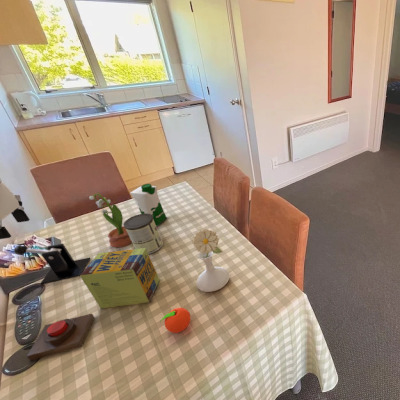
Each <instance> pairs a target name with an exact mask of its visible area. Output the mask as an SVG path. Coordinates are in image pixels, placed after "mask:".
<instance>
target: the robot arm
mask: <svg viewBox="0 0 400 400" xmlns="http://www.w3.org/2000/svg"><path fill="white" fill-rule="evenodd" d="M10 214H11V215H12V217H13V218H14V220H15V221H16V222H17V223H24V222H29V221H30V218H29V217H28V215H27V213H26V212H25V208H24V206H23V201H22V199H21V195H20V194H14V193H13V192H12V191H11V189H10V188H9V187H8V186H7V185H6V184H5V182H3V180H2V179H1V178H0V240H4V239H10V238H12V235H11V233H10V232H9V231H8V230H7V228H6V227H5V226H3V220H4V219H6V218H7V217H8V216H9V215H10Z"/></svg>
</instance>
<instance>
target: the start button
mask: <svg viewBox="0 0 400 400" xmlns="http://www.w3.org/2000/svg"><path fill="white" fill-rule="evenodd" d="M52 323H53V324H52V325H51V326H50V327H49V328H48V329H47V332H48V334H49V335H50V336H52V337H55V336H58V335H60V334H62V333H63V332H64V331H65V330H66V329H67V328H68V325H67V324H66V322H65V321H60V320H57V321H55V322H52Z"/></svg>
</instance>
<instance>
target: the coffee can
mask: <svg viewBox="0 0 400 400" xmlns="http://www.w3.org/2000/svg"><path fill="white" fill-rule="evenodd" d="M122 226H124V227H125V229H126V231H127V233H128V235H129V237H130V239H131V241H132V243H131V244H132V245H133V247H134V249H141V248H146V250H147V252H148V254H149V255H150V254H154V253H155V252H157V251H158V250H160V249H162V248H163V245H164V241H163V239H162V237H161V235H160V232H159V229H158V226H156V225H155V222H154V220H153V216H152V215H151V214H141V213H139V214H135V215H132V216H130V217H128V218H127V219H126V220H125V221H124V222H123V223H122Z"/></svg>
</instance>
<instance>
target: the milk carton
mask: <svg viewBox="0 0 400 400" xmlns="http://www.w3.org/2000/svg"><path fill="white" fill-rule="evenodd" d="M129 195H131V196H132V198H133V200H135V202H136V205H137V207H138V210H139V212H140V214H151V215H152V216H153V220H154V222H155V225H156V227H158V226H159V225H160V224H162V223H163V222H164V221H165V220H166V219H167V218H168V217H167V215H166V213H165V211H164V208H163V206H162V202H161V200H160V197H159V194H158V188H157V185H152V184H151V183H145V184H142V185H140V186H138V187H137V188H136V189H134V190H132V191H130V193H129Z"/></svg>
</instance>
